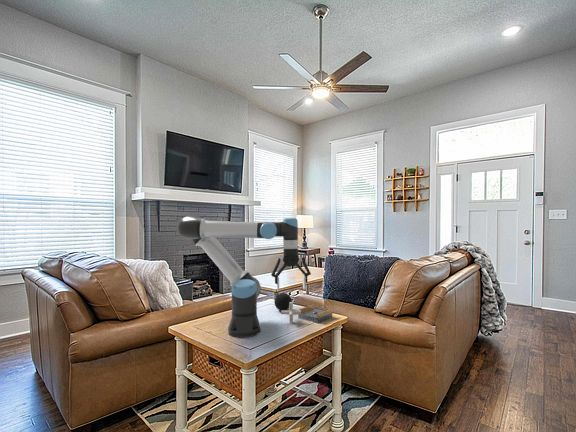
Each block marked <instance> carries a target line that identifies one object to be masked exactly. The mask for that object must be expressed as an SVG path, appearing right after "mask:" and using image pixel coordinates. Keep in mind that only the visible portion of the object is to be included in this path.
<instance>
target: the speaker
mask: <svg viewBox="0 0 576 432" xmlns="http://www.w3.org/2000/svg"><path fill="white" fill-rule="evenodd" d="M273 302H274V306H275V308H276V309H277V310H279V311H280V312H281V311H289V303H290V302H293V301H292V298H291V296H290V295H289V294H288V293H285V292H280V293H277V295H276V296H275V298H274V300H273Z"/></svg>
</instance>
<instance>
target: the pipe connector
mask: <svg viewBox="0 0 576 432" xmlns="http://www.w3.org/2000/svg"><path fill="white" fill-rule="evenodd" d="M280 312H281V313H280V314H281V315H289V324H291V323H292V324H293V323H294V315H298V314H301V311H298V310H294V303H293V301H292V302H290V303H289V309H288V310H286V311H281V310H280Z"/></svg>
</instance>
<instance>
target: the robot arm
mask: <svg viewBox="0 0 576 432" xmlns="http://www.w3.org/2000/svg"><path fill="white" fill-rule="evenodd" d="M298 223H299V222H298V219H297V218H295V217H287V218H283V219H282V221H278V222H277V221H264V222H262V221H260V222H259V221H258V222H256V221H229V220H228V221H227V220H207V219H206V218H205V217H204V216H202V215H201V216H200V215H187V216H184V217H183V218H181V219H180V220H179V222H178V224H177V233H178V235H179V236H180V237H182V239H186V240H188V241H189V240H190V241H191V242H192V243H193V244H194V245H195V246H196V247H201V249H202V250H203V251H204V253H206V254H207V256H208V257H209V258H210V259H211V260H212V262H213V263H214V264H215V266H216V267H218V269H219V271H221V272H222V274H223V275H224V276H225V277H226V278H227V280H228V281H229V282H230V283H229V285H230V286H229V287H230V288H231V290H230V291H231V317H230V321H229V324H228V328H227V330H228V331H227V333H228V335H229V336H231V337H235V338H250V337H254V336H256V335H259V334H260V333H261V324H260V323H261V322H260V321H259V318H258V313H257V312H258V309H257V307H258V303H257V302H258V298H259V296H260V294H261V291H262V290H261V289H262V288H261V283H260V281H259V279H257V278H256V277H254V276H253V275H251V273H250V272H249V271H247V270H243V268H242V267H241V266H240V265H239V264H238V263H237V261H236V260H235V259H234V258H233V257H232V255H231V254H230V253H229V252H228V251H227V250H226V249H225V247H224V246H223V245H222V244H221V243H220V241H219V240H218V239H217V238H240V239H241V238H243V239H244V238H245V239H265V240H272V239H274V238H277V237H280V238H281V237H283V239H282V241H283V249H282V250H283V257H277V259H276V264H275V266H274V267H273V269H272V272H271V274H270V275H271V277H273V278H274V283H275V284H276V290H277V292H279V291H280V277H279V276H280V274H281V273H283V271H284V270H285V268H286V267H296V268H297V269H298V270H299V271H300V272H301V273H302V275H303V276H302V289H303V290H306V289H307V288H306V287H307V286H306V283H308V277H309V276H311V275H312V273H311V271H310V269H309V267H308V265H307V263H306V262H305V257H304V256H301V257H299V249H298V247H299V239H298V238H299V225H298ZM282 262H283V264H282V266H281V267H279V266H280V263H282ZM299 262H301V264H302V265H303V267H304V269H305V270H304V269H303V268H302V267H301V266H300V264H299ZM278 269H279V270H278ZM277 270H278V271H277Z"/></svg>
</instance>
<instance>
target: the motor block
mask: <svg viewBox="0 0 576 432" xmlns="http://www.w3.org/2000/svg"><path fill="white" fill-rule="evenodd" d="M314 306H315V305H314V304H310V305H307V306H305V307H304V306H303V307H301V308H299V309H298V310H297V311H301V314H297V318H298V319H300V320H301V319H302V320H305V321H308V322H311V321H312V323H316V324H320V323H322V322H325V321H327V320H329V319H332V318H333V308H329V309H327V310H324V309H319V308H315V307H314Z"/></svg>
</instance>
